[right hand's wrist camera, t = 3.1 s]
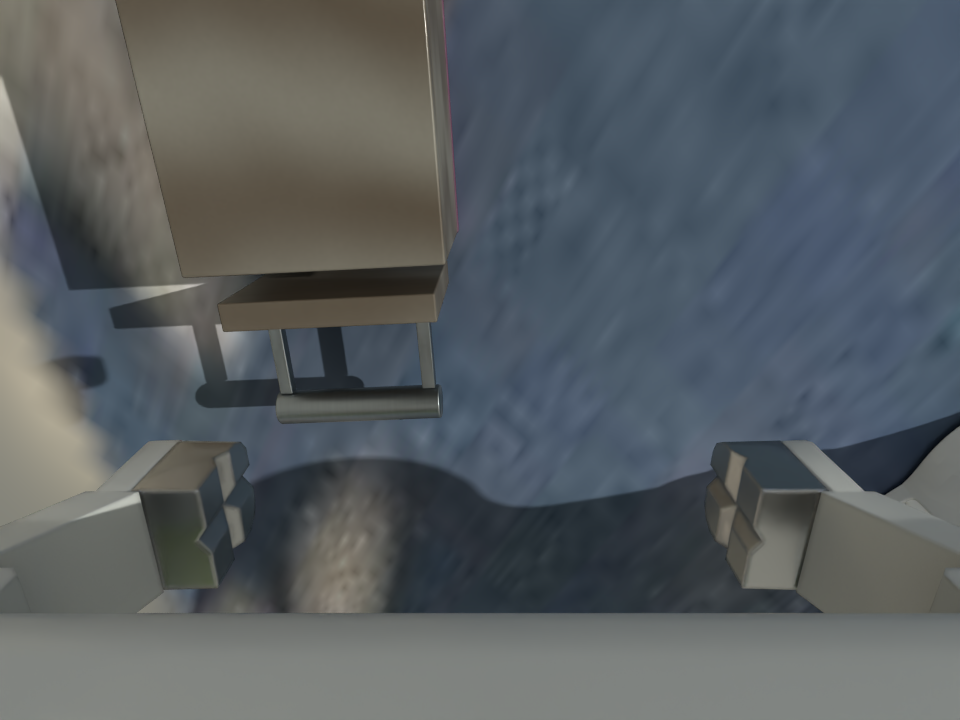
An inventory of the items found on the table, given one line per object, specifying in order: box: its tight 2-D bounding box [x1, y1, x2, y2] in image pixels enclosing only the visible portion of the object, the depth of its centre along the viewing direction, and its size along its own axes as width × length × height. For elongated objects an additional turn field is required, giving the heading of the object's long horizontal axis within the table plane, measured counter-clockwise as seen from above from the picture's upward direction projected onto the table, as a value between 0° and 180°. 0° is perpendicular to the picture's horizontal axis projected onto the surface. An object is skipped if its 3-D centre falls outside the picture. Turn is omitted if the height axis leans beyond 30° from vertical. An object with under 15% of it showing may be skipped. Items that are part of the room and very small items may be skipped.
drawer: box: [218, 261, 449, 424], centre depth 25 cm, size 22×9×6 cm, turn 3°
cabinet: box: [115, 0, 459, 278], centre depth 23 cm, size 17×10×8 cm, turn 3°
